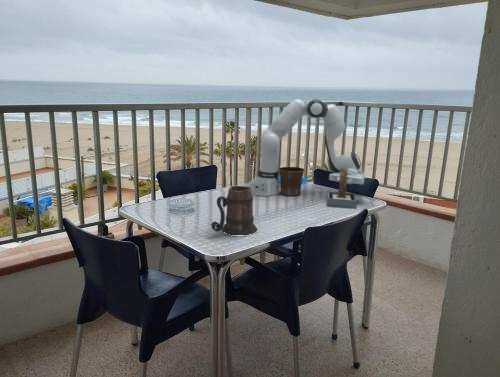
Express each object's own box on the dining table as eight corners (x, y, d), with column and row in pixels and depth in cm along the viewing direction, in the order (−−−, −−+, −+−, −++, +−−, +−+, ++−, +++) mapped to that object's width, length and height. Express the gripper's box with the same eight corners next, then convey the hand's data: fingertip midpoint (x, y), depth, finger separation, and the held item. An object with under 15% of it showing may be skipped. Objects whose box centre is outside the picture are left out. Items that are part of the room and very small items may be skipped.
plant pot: (277, 190, 239) (278, 166, 235) (301, 190, 238) (303, 166, 234) (278, 196, 223) (279, 171, 219) (304, 197, 222) (305, 171, 218)
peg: (338, 196, 209) (340, 169, 205) (338, 194, 213) (340, 167, 208) (345, 196, 208) (347, 169, 204) (345, 195, 212) (347, 168, 208)
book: (266, 179, 253) (289, 174, 270) (266, 185, 254) (289, 179, 271) (285, 183, 241) (307, 177, 258) (284, 190, 242) (307, 183, 259)
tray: (327, 206, 205) (327, 198, 204) (327, 198, 221) (327, 191, 219) (356, 208, 202) (356, 200, 201) (354, 200, 217) (354, 193, 216)
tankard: (242, 221, 180) (243, 181, 174) (265, 231, 167) (266, 189, 162) (202, 231, 165) (201, 189, 160) (223, 243, 153) (223, 197, 147)
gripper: (333, 169, 223) (325, 173, 212) (367, 173, 213) (360, 177, 201) (332, 179, 225) (325, 183, 213) (366, 183, 214) (359, 188, 203)
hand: (342, 181), depth 207 cm, fingers closed on peg, 4 cm apart
